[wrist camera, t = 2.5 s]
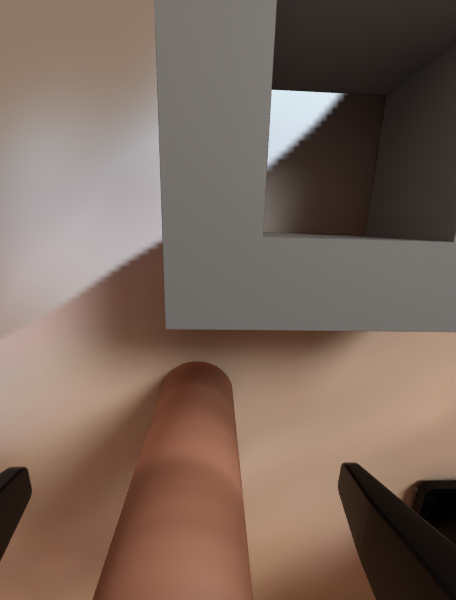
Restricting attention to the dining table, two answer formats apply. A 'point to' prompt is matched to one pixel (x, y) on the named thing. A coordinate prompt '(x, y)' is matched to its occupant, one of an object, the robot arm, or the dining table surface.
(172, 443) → the peg
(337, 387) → the dining table surface
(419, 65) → the hole block
